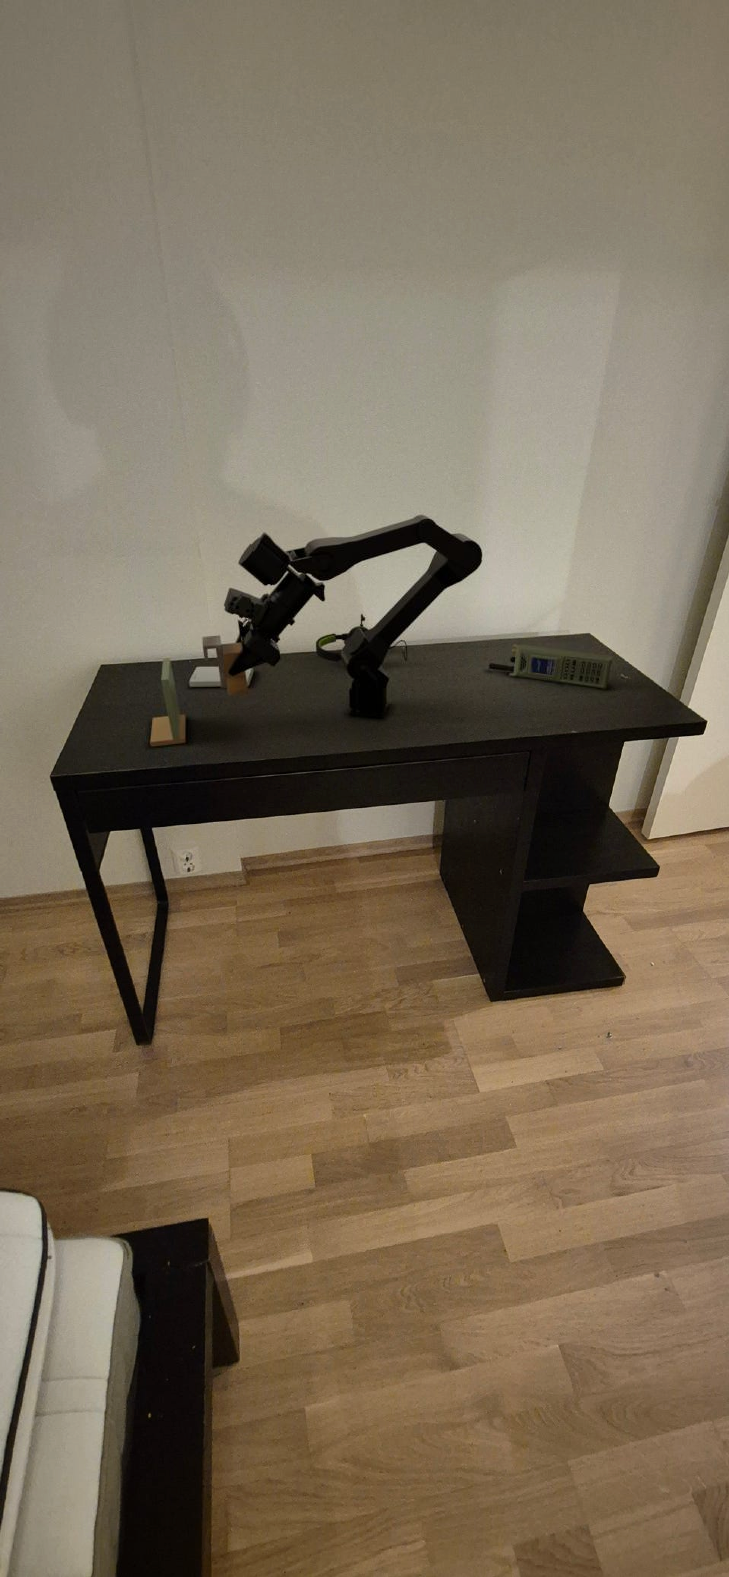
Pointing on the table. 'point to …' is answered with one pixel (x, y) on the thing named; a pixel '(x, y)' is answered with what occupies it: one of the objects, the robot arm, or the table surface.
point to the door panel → (173, 724)
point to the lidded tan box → (226, 664)
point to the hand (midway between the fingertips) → (229, 668)
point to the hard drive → (211, 677)
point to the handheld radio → (559, 666)
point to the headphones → (333, 637)
